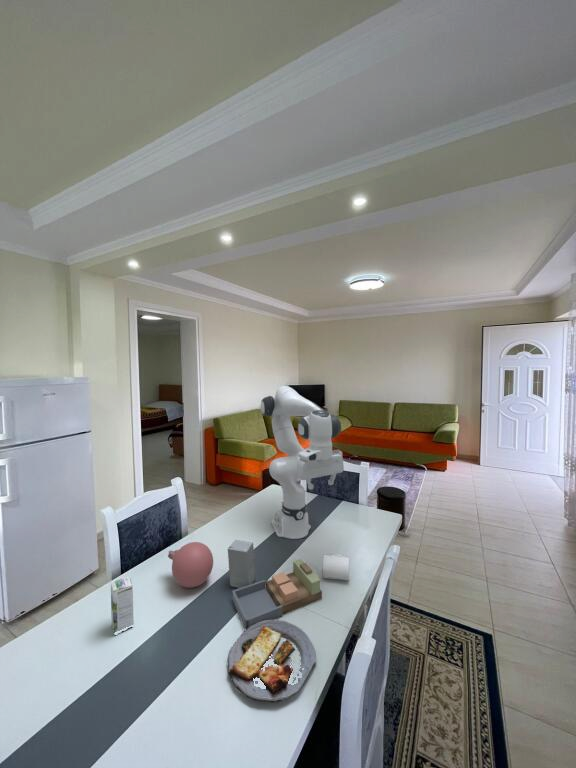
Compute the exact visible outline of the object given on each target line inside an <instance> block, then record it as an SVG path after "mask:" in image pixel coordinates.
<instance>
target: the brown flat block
mask: <svg viewBox="0 0 576 768" xmlns="http://www.w3.org/2000/svg"><path fill="white" fill-rule="evenodd" d="M285 574H286V575H287V576H288V578H289V579H290V582H292V583H293V584H294V586H295V587H296V588H297V589H298V597H297V598H294V599H292V600H289V601H286V602H285V600H284V599H283V598H282V596H281V595H280V593H279V591H278V590H277V589H276V587H275V586H274V584H273V583H272V579H270V580H267V581H266V580H265V581H266V590H267V591H268V593H269V594H270V596H271V598H272V599H273V601H274V602H275V604H276V606H277V607H278V606H280V605H282V616H284V615H286V614H289V613H292V612H294V611H297V610H299V609H301V608H304V607H306V606H308V605H311V604H314V603H316V602H319V601H321V600H322V599H323V591H322V590H321V589H320V592H319V593H316V594H314V595H311V594H310V592H309V591H308V590H307V589H306V587H305V586H304V585H303V584H302V582H301V581H300V580H299V579H298V577H297V576H296V575H295V574H294V572H293V571H292V572H290V573H285Z"/></svg>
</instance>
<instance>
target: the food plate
mask: <svg viewBox="0 0 576 768" xmlns="http://www.w3.org/2000/svg"><path fill="white" fill-rule="evenodd" d="M281 638H283V639H284V640H285V641H282V643H281V644H280V641H281ZM279 645H280V646H279ZM293 645H294V646H295V647H294V646H293ZM296 649H297V652H299V653H300V654H299V653H298V656H299V658H300V657H301V662H300V663H301V665H300V664H299V665H300V667H301V668H299V669H298V671H300V672H301V673H302V678H298V683H296V684H294V685H291V684H288V681H289V678H290V675H291V673H292V671H293V670H294V668H292V667H291V668H290V666H291V665H292V663H291V662H294V661H295V660H292V657H291V656H292V654H293V653H294V651H296ZM271 654H272V655H273V656H271ZM269 656H271V658H272V659H274V661H273V662H274V664H277V665H278V666H273V665H271V666H269V664H268V667H265V671H263V669H262V670H261V668H263V667H264V666H263V665H264V664H265V663H266V661H268V660H269V659H271V658H269ZM293 657H294V658H295V656H293ZM316 662H317V653H316V650H315V647H314V645H313V642H312V641H311V639H310V637H309V635H307V634H306V632H304V631H303V630H302V628H300V627H298V626H296V625H295V624H292V623H290V622H289V621H286V620H278V619H275V620H264V621H261V622H258V623H256V624H255V625H252V626H250V627H248V628H247V629H246V630H244V631H243V632H242V633H241V634H240V636H239V637H238V638H237V639H236V641H235V642H234V643H233V645H232V646H231V647H230V649H229V651H228V655H227V673H228V675H229V677H230V680H231V682H232V684H233V685H234V686H235V688H237V689H238V690H239V691H240V692H241V693H242V694H243V695H245V696H246V698H247V699H251V700H252V701H254V702H255V701H256V702H267V703H279V702H283V700H284V701H285V700H288V698H289V697H290V696H291V697H294V696H295V695H296V694H297V693H298V692H299V691H300V690H301V687H302V686H303V684H304V682H305V681H306V679H307V678H308V675H309V673H310V672H311V671H312V668H313V667H314V664H315V663H316ZM290 663H291V665H290ZM294 663H295V662H294ZM292 666H293V665H292ZM302 668H304V670H302ZM293 672H294V671H293ZM296 674H297V673H296ZM297 676H299V673H298V674H297ZM256 677H257V678H260V680H261V681H262V682H263V683H264V685H265V686H266V689H261V688H260V687H256V686H254V681H253V678H254V679H255V678H256ZM293 679H294V680H293V682H292V683H294V681H295V680H296V677H295V678H294V677H293ZM255 684H258V681H255Z"/></svg>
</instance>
